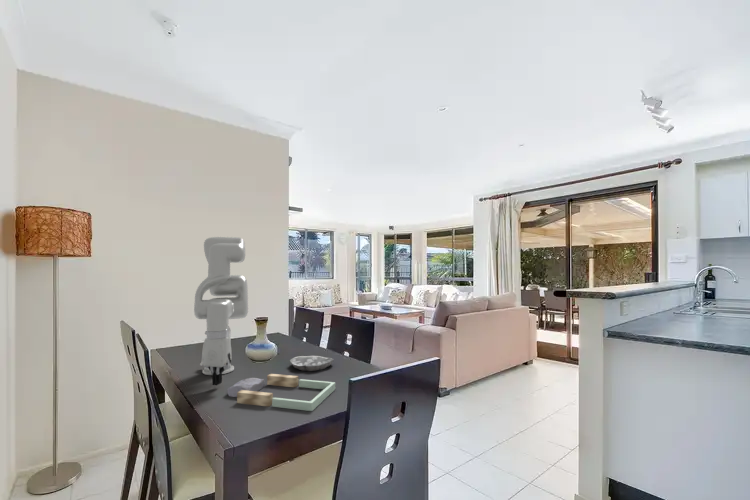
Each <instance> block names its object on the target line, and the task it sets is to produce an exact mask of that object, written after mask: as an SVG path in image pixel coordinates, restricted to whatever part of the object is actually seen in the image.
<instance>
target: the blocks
mask: <svg viewBox="0 0 750 500" xmlns="http://www.w3.org/2000/svg"><path fill="white" fill-rule="evenodd" d="M299 380H300V379H299V375H291V374H290V375H288V374H280V373H279V374H278V373H270V374H267V377H266V382H267V383H266V385H267V386H277V387H287V388H297V387H299ZM273 398H274V393H273V392H266V391H265V392H264V391H258V392H257V391H247V390H241V391H239V392H237V397H236V402H237V404H242V405H251V406H260V407H261V406H262V407H271V406H272V399H273Z"/></svg>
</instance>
